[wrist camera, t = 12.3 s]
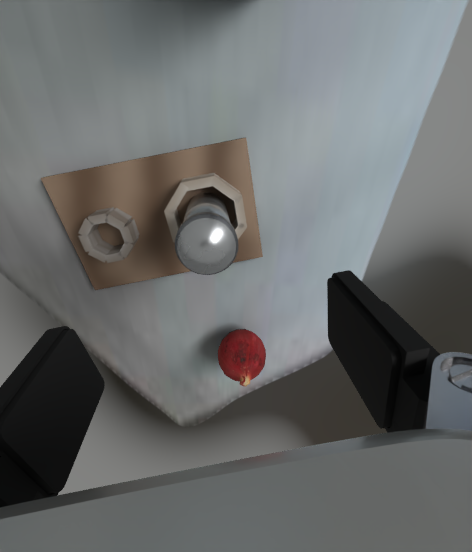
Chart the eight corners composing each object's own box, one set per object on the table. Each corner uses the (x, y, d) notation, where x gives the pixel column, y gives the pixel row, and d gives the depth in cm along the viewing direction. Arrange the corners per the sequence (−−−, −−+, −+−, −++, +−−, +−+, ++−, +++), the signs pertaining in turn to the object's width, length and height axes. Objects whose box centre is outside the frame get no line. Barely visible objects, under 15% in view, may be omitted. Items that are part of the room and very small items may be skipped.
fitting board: (244, 137, 26) (249, 137, 22) (260, 253, 31) (267, 266, 28) (46, 176, 25) (24, 182, 22) (98, 285, 31) (86, 302, 28)
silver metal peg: (224, 186, 26) (232, 210, 18) (232, 229, 28) (243, 270, 20) (179, 194, 26) (166, 223, 18) (190, 237, 28) (183, 281, 20)
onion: (216, 318, 35) (218, 364, 28) (260, 315, 35) (274, 360, 28) (217, 352, 37) (219, 403, 30) (258, 350, 38) (271, 399, 31)
